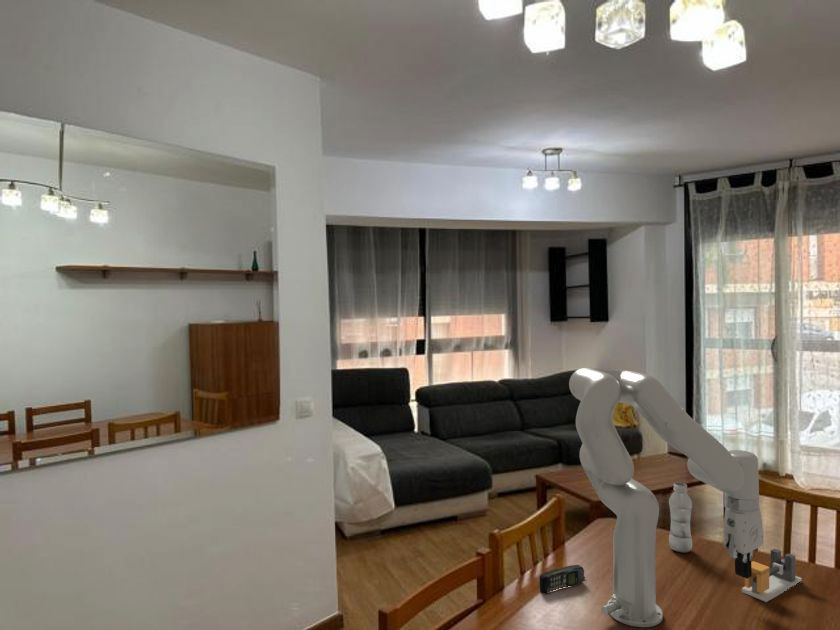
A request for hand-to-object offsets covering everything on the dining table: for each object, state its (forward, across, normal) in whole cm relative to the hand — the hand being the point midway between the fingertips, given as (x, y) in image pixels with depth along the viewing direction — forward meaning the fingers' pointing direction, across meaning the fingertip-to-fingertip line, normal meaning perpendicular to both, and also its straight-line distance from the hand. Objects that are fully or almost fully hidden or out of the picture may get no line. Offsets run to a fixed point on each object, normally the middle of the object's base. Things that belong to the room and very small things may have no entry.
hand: (743, 575), depth 141 cm
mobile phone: (+6, -30, +31) cm, 44 cm away
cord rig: (+8, +14, 0) cm, 16 cm away
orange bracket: (+5, +7, 0) cm, 9 cm away
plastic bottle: (+7, +14, +26) cm, 31 cm away
